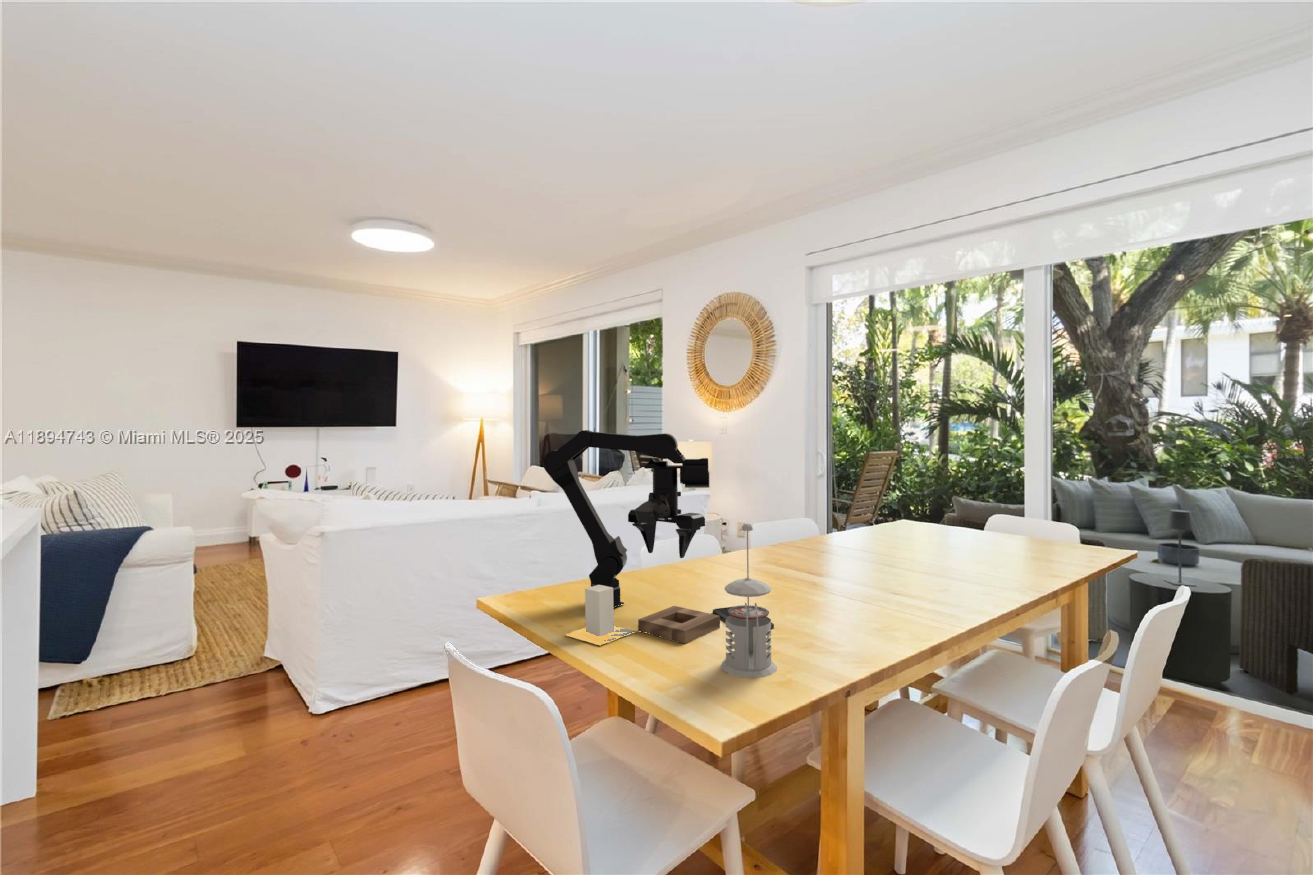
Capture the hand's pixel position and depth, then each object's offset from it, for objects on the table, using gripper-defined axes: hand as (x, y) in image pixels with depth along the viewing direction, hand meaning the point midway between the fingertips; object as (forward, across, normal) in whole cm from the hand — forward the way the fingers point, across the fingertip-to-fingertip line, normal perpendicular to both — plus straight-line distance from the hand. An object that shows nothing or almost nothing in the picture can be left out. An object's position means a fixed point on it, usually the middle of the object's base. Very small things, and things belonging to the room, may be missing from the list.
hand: (665, 555), depth 146 cm
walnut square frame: (+12, +12, -11) cm, 20 cm away
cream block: (+12, +1, -23) cm, 26 cm away
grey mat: (+12, +1, -23) cm, 26 cm away
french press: (+12, +34, -20) cm, 41 cm away
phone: (+13, +19, +2) cm, 23 cm away
